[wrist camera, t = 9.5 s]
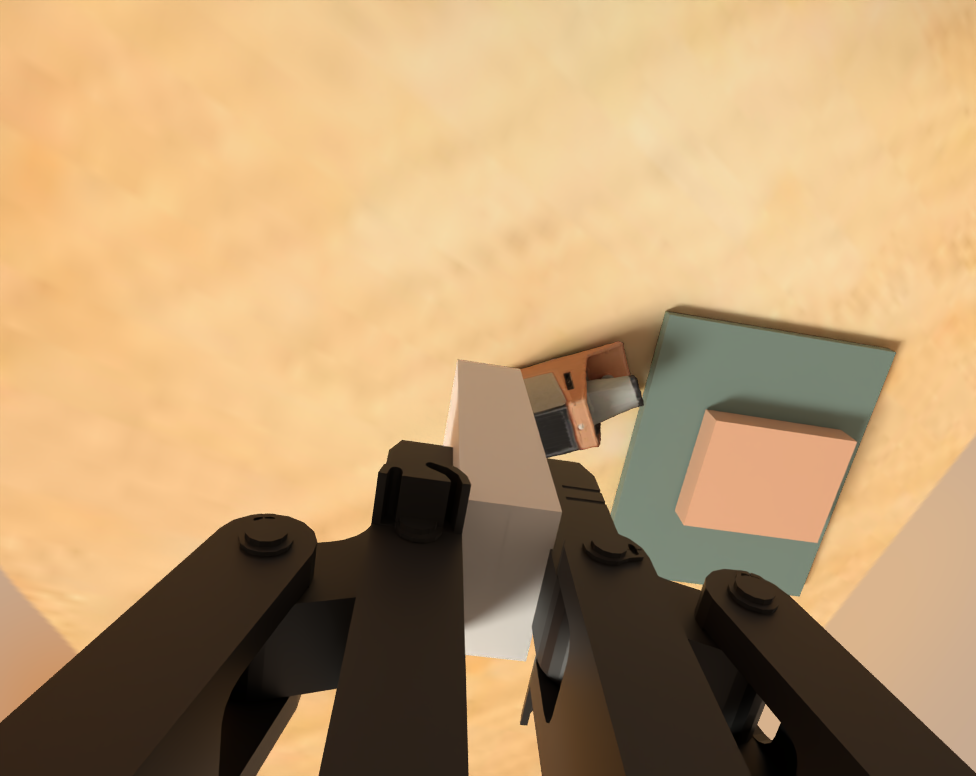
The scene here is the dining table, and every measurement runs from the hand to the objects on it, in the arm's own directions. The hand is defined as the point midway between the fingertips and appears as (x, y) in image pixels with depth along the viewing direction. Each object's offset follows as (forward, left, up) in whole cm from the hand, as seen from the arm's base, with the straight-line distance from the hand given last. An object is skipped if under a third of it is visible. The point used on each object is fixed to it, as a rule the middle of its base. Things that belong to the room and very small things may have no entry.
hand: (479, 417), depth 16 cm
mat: (+12, +22, -28) cm, 38 cm away
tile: (+12, +18, -26) cm, 34 cm away
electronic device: (+8, +8, -29) cm, 31 cm away
